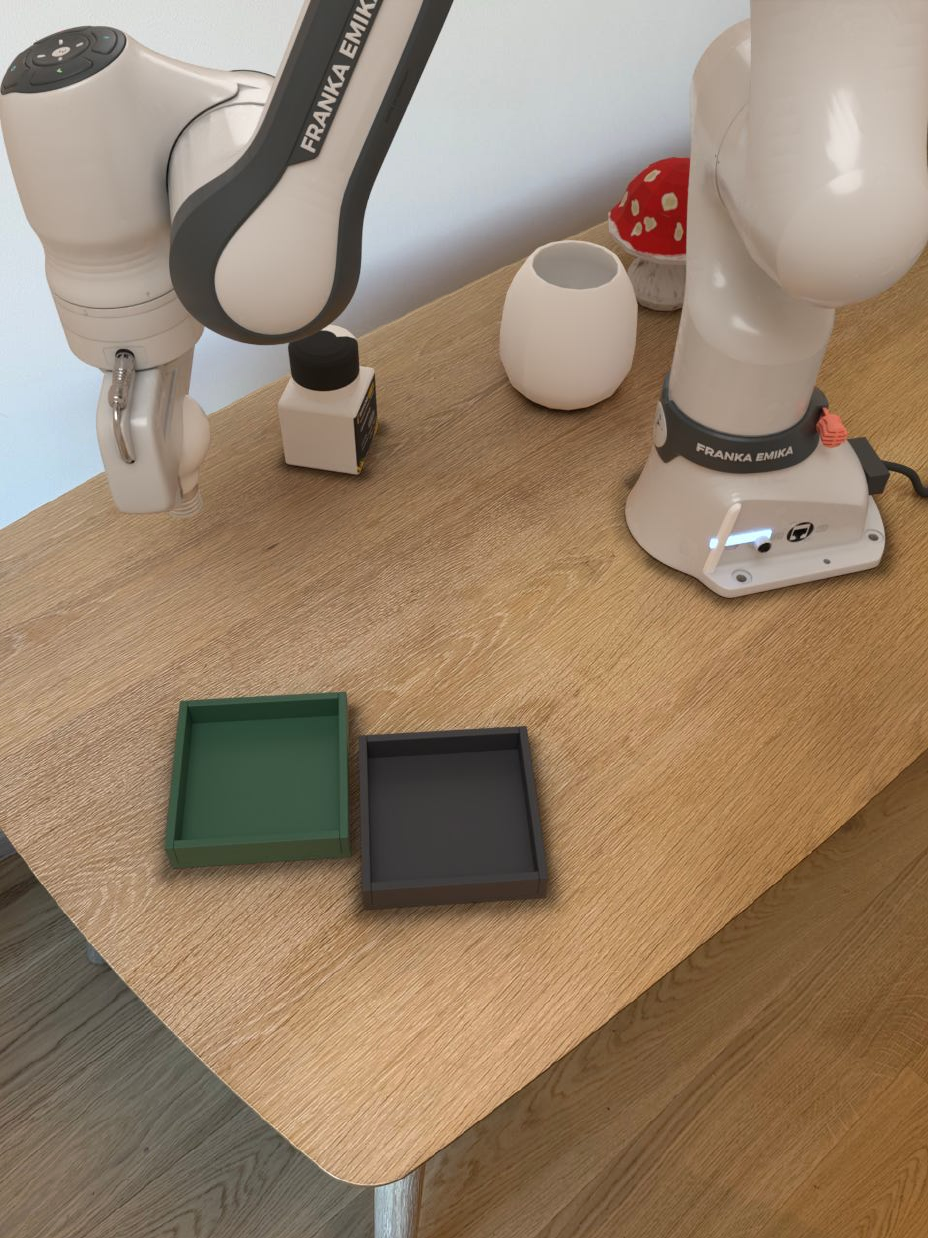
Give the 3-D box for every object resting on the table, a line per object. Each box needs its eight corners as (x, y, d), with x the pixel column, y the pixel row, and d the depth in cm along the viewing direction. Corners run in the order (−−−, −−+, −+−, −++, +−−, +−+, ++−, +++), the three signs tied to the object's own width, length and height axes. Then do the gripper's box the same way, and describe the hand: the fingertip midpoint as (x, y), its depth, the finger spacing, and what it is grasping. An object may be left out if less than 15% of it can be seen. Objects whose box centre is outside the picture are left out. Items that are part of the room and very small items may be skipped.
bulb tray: (348, 713, 84) (346, 691, 81) (351, 857, 76) (348, 837, 74) (186, 722, 83) (179, 700, 81) (171, 869, 75) (163, 849, 73)
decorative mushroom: (666, 348, 114) (691, 214, 103) (571, 290, 121) (584, 159, 109) (750, 299, 120) (783, 167, 109) (655, 246, 127) (677, 117, 116)
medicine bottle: (359, 476, 101) (351, 369, 92) (284, 465, 102) (269, 357, 92) (378, 427, 105) (373, 320, 96) (307, 417, 106) (294, 310, 97)
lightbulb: (214, 546, 82) (184, 432, 73) (133, 537, 82) (93, 423, 74) (239, 487, 86) (213, 373, 77) (161, 479, 86) (127, 365, 78)
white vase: (655, 382, 111) (676, 262, 100) (574, 445, 104) (588, 324, 94) (552, 329, 116) (563, 210, 106) (469, 386, 110) (472, 265, 99)
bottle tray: (524, 747, 82) (526, 725, 80) (545, 898, 74) (548, 878, 72) (360, 756, 81) (358, 735, 79) (364, 910, 73) (361, 891, 71)
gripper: (165, 409, 64) (208, 571, 74) (193, 223, 77) (226, 383, 87) (55, 415, 63) (114, 577, 74) (101, 227, 77) (146, 387, 87)
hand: (175, 470), depth 81 cm, fingers closed on lightbulb, 5 cm apart
